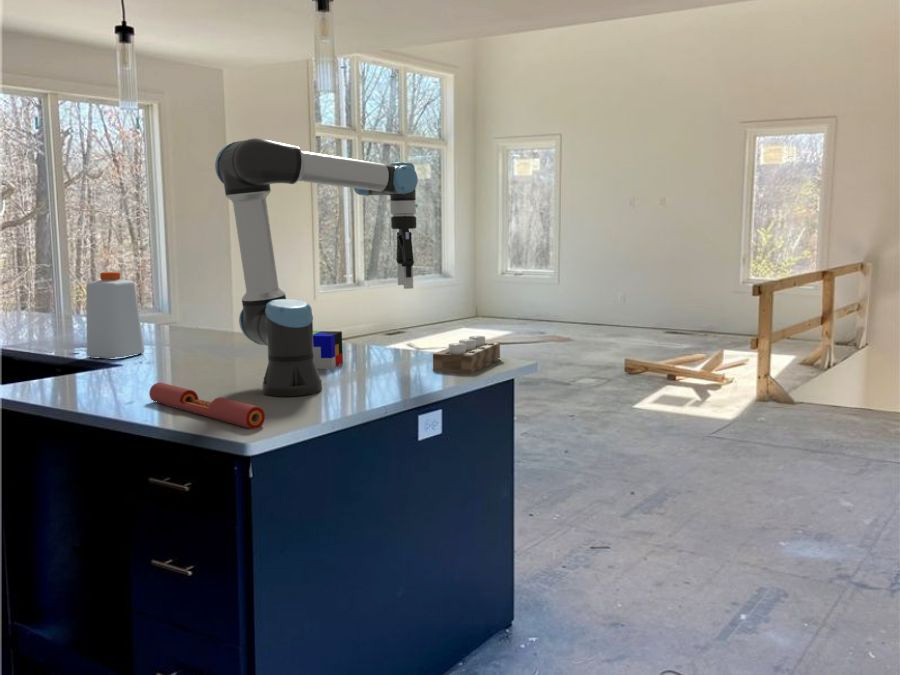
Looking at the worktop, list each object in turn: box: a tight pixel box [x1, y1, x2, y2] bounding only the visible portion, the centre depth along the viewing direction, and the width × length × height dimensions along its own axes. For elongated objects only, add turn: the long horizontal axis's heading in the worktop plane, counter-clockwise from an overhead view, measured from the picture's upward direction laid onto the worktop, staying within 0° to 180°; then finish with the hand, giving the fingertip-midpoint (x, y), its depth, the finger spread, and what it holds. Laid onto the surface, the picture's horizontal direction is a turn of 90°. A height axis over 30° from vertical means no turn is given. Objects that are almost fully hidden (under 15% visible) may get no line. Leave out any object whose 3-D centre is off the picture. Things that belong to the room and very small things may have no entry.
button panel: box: [432, 342, 501, 374], centre depth 247 cm, size 24×12×6 cm, turn 157°
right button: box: [468, 335, 486, 347], centre depth 254 cm, size 5×5×4 cm
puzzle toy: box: [313, 330, 344, 370], centre depth 249 cm, size 10×10×10 cm
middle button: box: [458, 338, 476, 351], centre depth 247 cm, size 5×5×4 cm
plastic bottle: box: [85, 271, 145, 358], centre depth 272 cm, size 15×15×28 cm
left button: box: [448, 342, 466, 355], centre depth 239 cm, size 5×5×4 cm
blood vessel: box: [148, 382, 266, 430], centre depth 189 cm, size 42×5×5 cm, turn 47°
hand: (405, 286), depth 247 cm, fingers open, 13 cm apart
